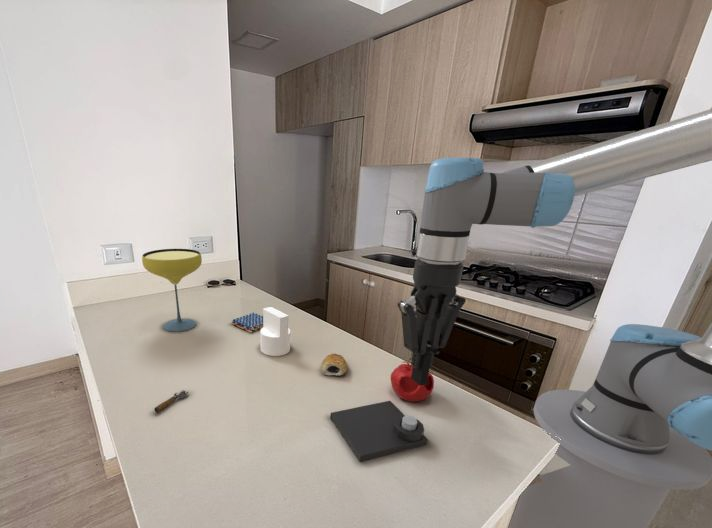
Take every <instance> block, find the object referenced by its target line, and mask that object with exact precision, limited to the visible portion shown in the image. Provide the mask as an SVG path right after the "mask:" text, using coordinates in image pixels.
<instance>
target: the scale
mask: <svg viewBox="0 0 712 528" xmlns="http://www.w3.org/2000/svg"><path fill="white" fill-rule="evenodd" d="M404 416H406V415H405V414H404V413H403V412H402V411H401V410H400V409H399V408H398V407H397V406H396V405H395V404H394V403H393V402H392V401H391V400H387V401H386V400H385V401H382V402H377V403H376V402H375V403H372V404H367V405H362V406H357V407H354V408H353V407H351V408H348V409H342V410H338V411H332V412H330V416H329V418H330V420H331V422H332V424H334V426H335V427H336V429H337V430H338V432H339V434H340V435H341V436H342V438H343V440H344V441H345V442H346V444H347V446H348V447H349V449H350V450H351V452H352V453H353V454H354V456H355V457H356V459H357V460H358V462H359V463H361V462H364V461H365V462H366V461H369V460H371V459H377V458H380V457H383V456H387V455H391V454H396V453H398V452H403V451H406V450H411V449H414V448H418V447H422V446H425V445H427V444H428V440H429V439H428V437H427V436H426V435H425V434H424V433H425V426H424V424H423V423H422V422H421V421H420V420H419V419H417V418H415V419H416V420H417V426H416V429H415V430H414V431H409V430H406V429H404V428H403V427H402V425H401V424H402V419H403V417H404Z"/></svg>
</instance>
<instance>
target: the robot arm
mask: <svg viewBox="0 0 712 528" xmlns="http://www.w3.org/2000/svg"><path fill="white" fill-rule="evenodd" d="M711 161H712V107H710V108H709V109H705V110H703V111H700V112H697V113H693V114H689V115H687V116H684V117H680V118H677V119H673V120H670V121H667V122H663V123H660V124H658V125H654V126H651V127H647V128H644V129H641V130H638V131H634V132H631V133H628V134H624V135H621V136H618V137H614V138H611V139H607V140H605V141H601V142H598V143H595V144H592V145H588V146H585V147H581V148H579V149H578V148H577V149H576V150H575V149H574V150H572V151H569V152H565V153H562V154H559V155H556V156H553V157H548V158H546V159H543V160H539V161H536V162H533V163H529V164H526V165H524V166H520V167H516V168H513V169H510V170H507V171H503V172H488V171H485V168H484V163H485V162H484V160H483V159H482V158H480V157H443V158H437V159H436V160H434V161H433V162H432V163H431V164H430V165H429V168H428V169H429V170H428V174H427V179H426V183H425V184H426V185H425V189H424V194H423V195H424V196H423V203H422V210H421V219H420V225H419V226H420V227H419V232H418V233H419V234H418V240H417V247H416V257H417V259H416V260H415V261H414V267H413V274H412V280H413V284H414V285H413V288H412V290H411V291H410V296H409V297H408V298H407V299H406V300H398V302H397V308H398V309H399V311H400V316H401V326H402V327H401V328H402V335H403V336H402V339H403V347H404V348H405V349H406V350H408V351H410V352H411V353H412V354H411V359H410V360H411V362H410V365H411V366H413V369H412V375H411V379H412V380H414V381H415V382H416V383H417V384H419V385H420V386H421V385H426V384H427V380H428V374H429V373H430V368H431V367H432V365H433V363H434V357H435V356H436V355H437V356H438V355H439V354H440V352H441V350H439V349H440V348H441V349H444V348H445V347H446V346H447V343H448V340H449V338H450V335H451V333H452V331H453V327H454V325H455V323H456V321H457V318H458V315H459V313H460V311H461V309H462V307H463V306H464V305H465V303H466V301H467V299H466V298H465V297H463V296H460V295H458V294H457V288H456V287H458V286H459V285H460V284H461V281H462V275H463V270H464V264H463V262H464V260H466V255H467V251H468V245H469V241H470V235H471V229H472V226H473V225H480V226H481V225H492V226H493V225H494V226H510V227H511V226H512V227H514V226H515V227H531V228H532V229H534V228H536V227H538V228H539V227H554V226H557V225H560V223H562V222H563V221H564V220H565V218H566V217H567V216H568V214H569V213H570V211H571V209H572V206H573V203H574V199H575V197H578V196H583V195H586V194H590V193H593V192H597V191H601V190H605V189H609V188H613V187H617V186H621V185H624V184H628V183H631V182H636V181H639V180H643V179H648V178H651V177H655V176H659V175H662V174H667V173H670V172H673V171H677V170H681V169H685V168H689V167H692V166H697V165H701V164H704V163H708V162H711ZM609 341H610V342H609V345H608V347H607V350H606V351H605V354H604V356H603V359H602V362H601V365H600V367H599V370H598V372H597V375H596V377H595V379H594V382H593V383H592V386H590V388H589V389H587V390H586V391H584V392H585V393H584V394H583V395H582V396H581V397H580V398H579V399H578V400H577V401H576V402H575V403H574V404H573V406H572V409H571V411H570V415H571V418H572V419H573V421H574V422H575V423H576V424H577V425H578V426H579V427H580V428H581V429H583V430H584V431H585V432H587V433H588V434H590V435H592V436H593V437H595V438H597V439H599V440H601V441H603V442H605V443H607V444H609V445H612V446H614V447H617V448H620V449H623V450H626V451H630V452H634V453H640V454H650V455H652V454H659V453H662V452H663V451H664V450H665V449H666V447H667V445H668V444H669V441H670V431H669V426H670V427H671V428H672V429H673V430H674V431H676V432H678V433H679V434H681V435H683V436H684V437H685V438H687V439H688V440H689V441H691V442H692V443H694V444H695V445H697V446H700V447H702V448H705V449H706V450H707V451H712V322H710V324H709V326H708V327H707V329H706V330H705V332H704V333H703V335H702V337H701V336H698V335H696V334H693V333H690V332H687V331H681V330H677V329H672V328H667V327H662V326H656V325H648V324H638V323H628V324H627V323H626V324H622V325H620V326H619V327H617V329H615V331H614V333H613V335H612V337H611V338H610V340H609Z"/></svg>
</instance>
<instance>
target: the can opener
mask: <svg viewBox="0 0 712 528" xmlns="http://www.w3.org/2000/svg"><path fill="white" fill-rule="evenodd" d="M188 394H189V391H187V392H186V391H185V390H181V391H180V393H178V392H175V393H174V394H173V396H172V397H169V398H168V399H167V400H165V401H163V402H162V403H159V404H158V405H157V406H155V407H154V412H155V413H158V412H160V411H162V410H164V409H165V408H166V407H167V406H169V405H171V403H173V402H175V401H176V400H177V399H183V398H185V397H187V396H188Z"/></svg>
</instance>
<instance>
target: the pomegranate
mask: <svg viewBox="0 0 712 528" xmlns="http://www.w3.org/2000/svg"><path fill="white" fill-rule="evenodd" d="M412 369H413V366H411V363H409V361H405V360H404V361H403V363H401V364H399V365H398V366H397V367H395V368H394V369H393V370H392V372H391V373H390V384H391V387H392V389H393V392H394V393H395V394H396V395H397V396H398V397H400V399H402V400H404V401H406V402H422V401H425V400H426V399H428V398H429V397H430V396H431V394H432V393H433V390H434V386H435V379H434V376H433V374H432V373H431V372H429V374H428V380H427V384H426V385H421V386H420V385H419V384H417V383H416V382H415V381H414V380H412V379H411V375H412Z"/></svg>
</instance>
